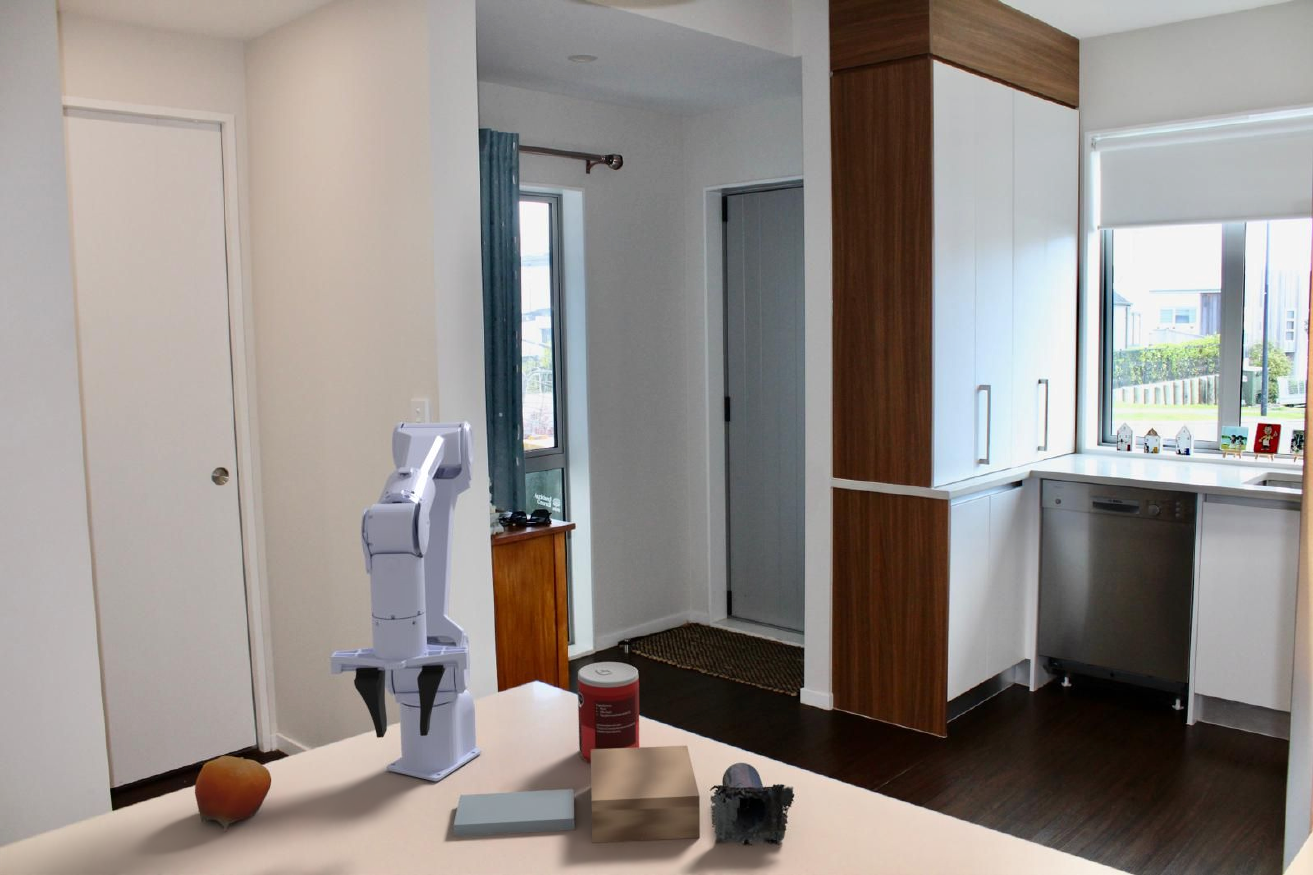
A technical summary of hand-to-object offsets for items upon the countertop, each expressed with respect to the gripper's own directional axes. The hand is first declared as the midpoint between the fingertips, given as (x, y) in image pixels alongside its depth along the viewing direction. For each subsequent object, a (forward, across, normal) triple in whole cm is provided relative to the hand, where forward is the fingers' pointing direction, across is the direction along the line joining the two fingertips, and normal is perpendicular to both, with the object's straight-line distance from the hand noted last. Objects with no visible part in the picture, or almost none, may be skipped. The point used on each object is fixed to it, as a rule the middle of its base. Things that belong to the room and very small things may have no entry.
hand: (403, 733), depth 111 cm
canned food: (+10, +23, +16) cm, 30 cm away
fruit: (+11, -20, +4) cm, 23 cm away
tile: (+11, +12, 0) cm, 16 cm away
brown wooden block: (+10, +26, 0) cm, 28 cm away
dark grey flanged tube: (+11, +38, -2) cm, 39 cm away
